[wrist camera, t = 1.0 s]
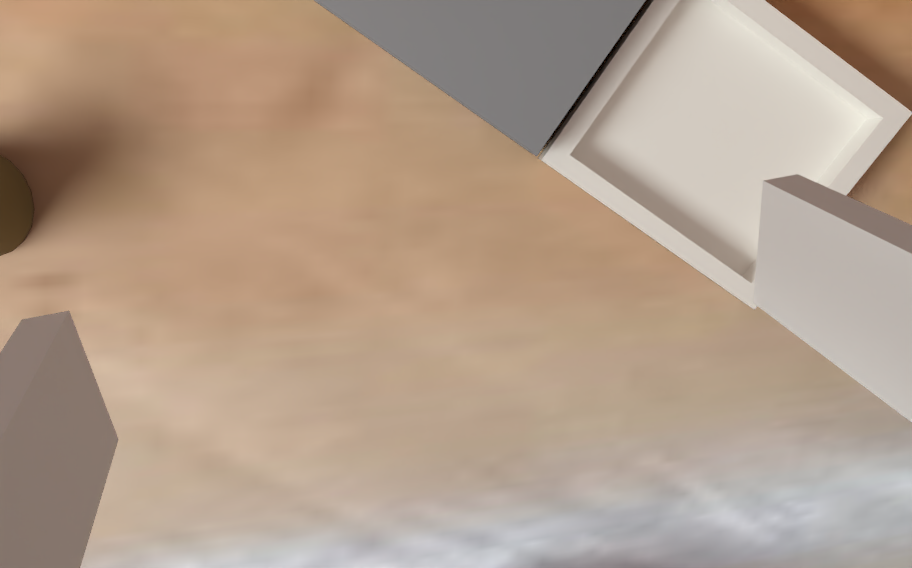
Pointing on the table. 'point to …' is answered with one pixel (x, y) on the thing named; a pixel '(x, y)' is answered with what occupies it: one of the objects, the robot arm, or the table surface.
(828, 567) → the table surface
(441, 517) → the table surface
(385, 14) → the deck
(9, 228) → the cork
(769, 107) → the tray
